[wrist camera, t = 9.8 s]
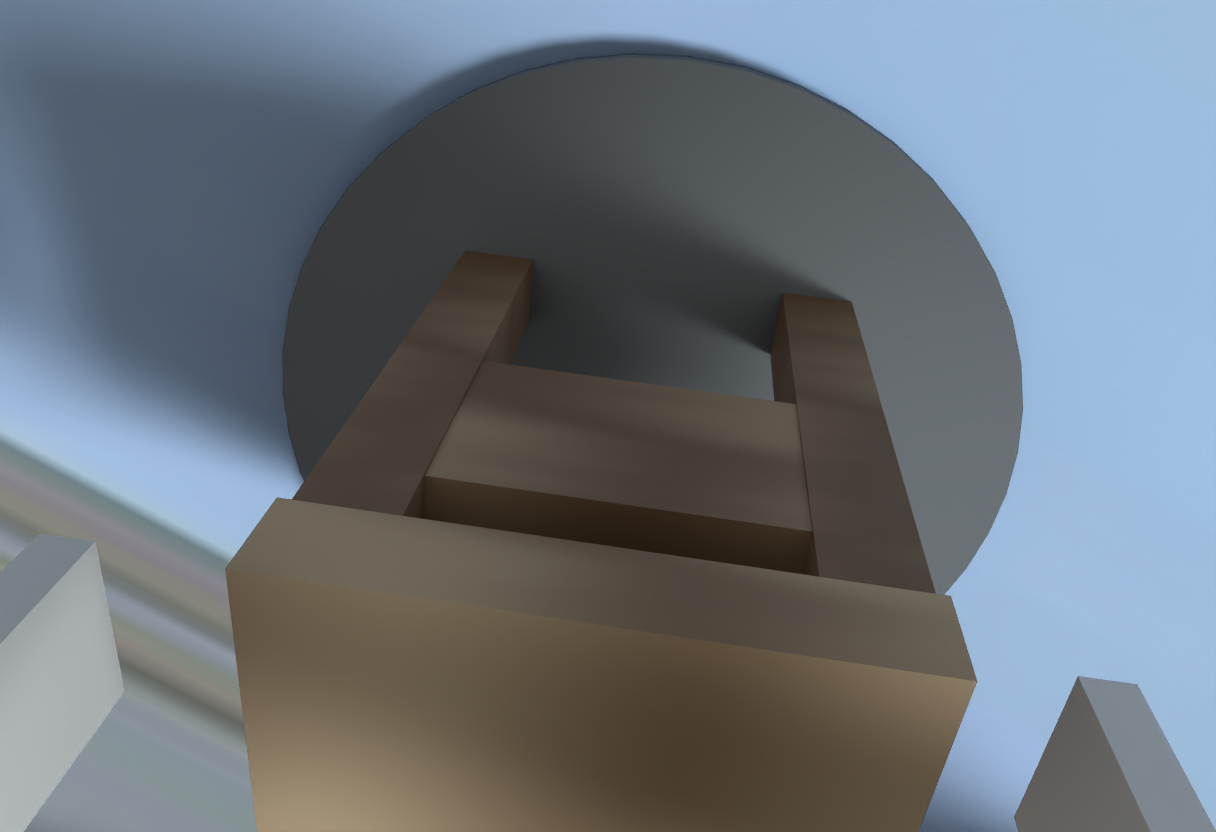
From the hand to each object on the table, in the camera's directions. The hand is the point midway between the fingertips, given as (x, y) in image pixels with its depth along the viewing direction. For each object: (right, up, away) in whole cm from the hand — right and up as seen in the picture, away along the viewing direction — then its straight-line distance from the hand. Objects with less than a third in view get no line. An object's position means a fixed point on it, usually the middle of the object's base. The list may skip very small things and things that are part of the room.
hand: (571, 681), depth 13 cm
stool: (+1, +3, +5) cm, 6 cm away
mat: (+1, +3, +6) cm, 7 cm away
